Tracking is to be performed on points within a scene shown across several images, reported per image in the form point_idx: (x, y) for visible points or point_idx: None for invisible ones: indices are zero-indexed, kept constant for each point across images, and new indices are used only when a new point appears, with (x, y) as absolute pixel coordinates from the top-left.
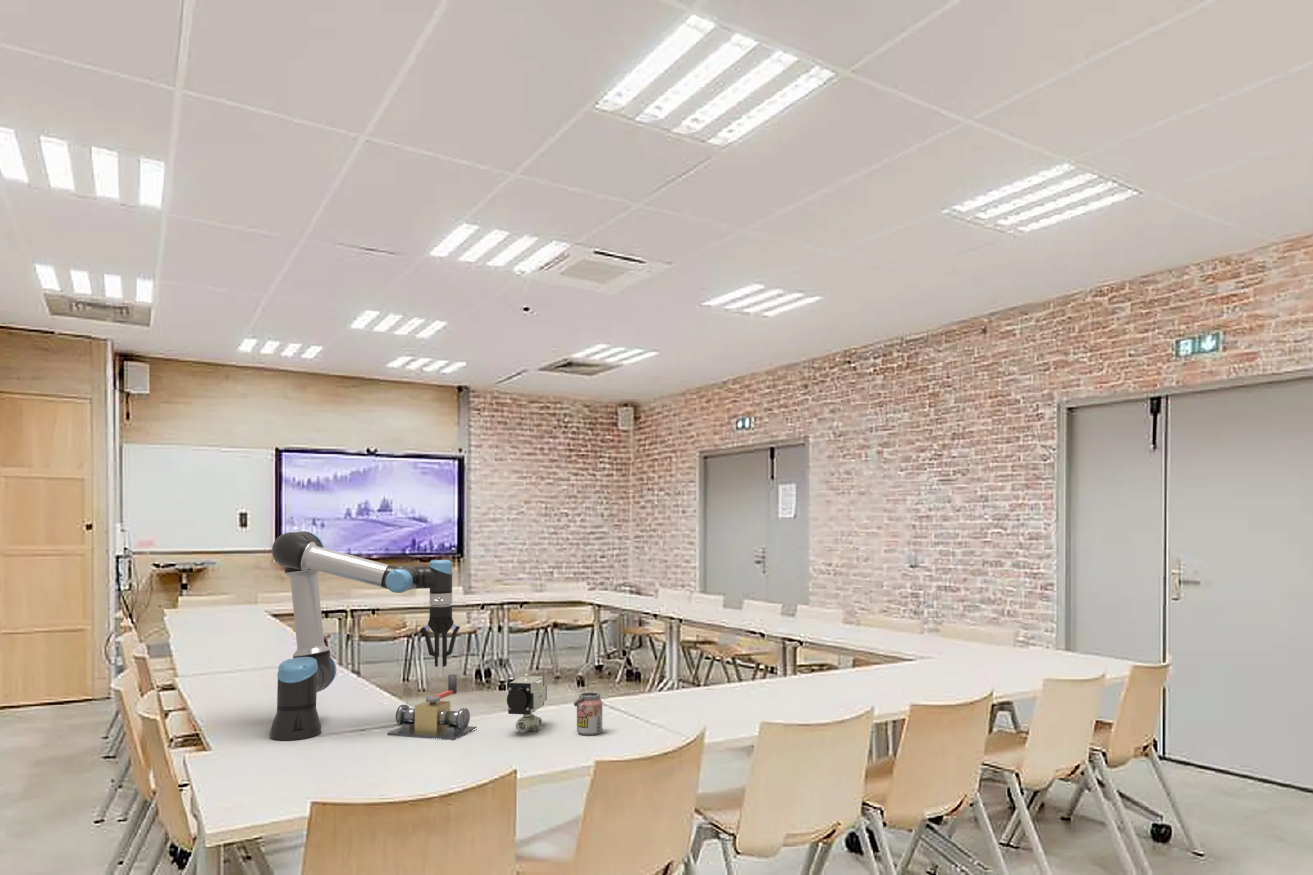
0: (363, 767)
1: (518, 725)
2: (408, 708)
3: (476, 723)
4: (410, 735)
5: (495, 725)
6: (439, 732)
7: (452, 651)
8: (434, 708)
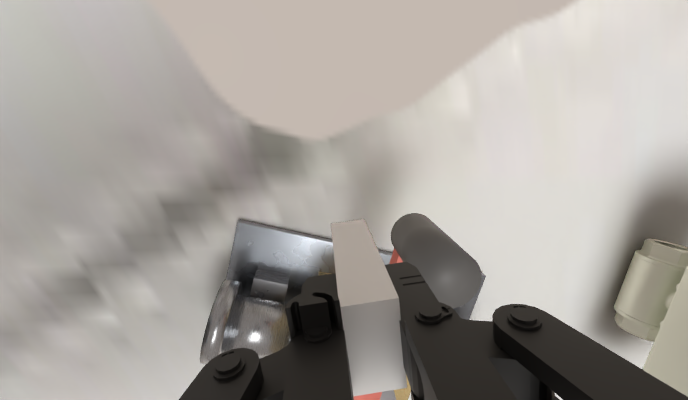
0: None
1: (629, 322)
2: (242, 343)
3: (468, 191)
4: None
5: (535, 218)
6: None
7: (560, 330)
8: None
